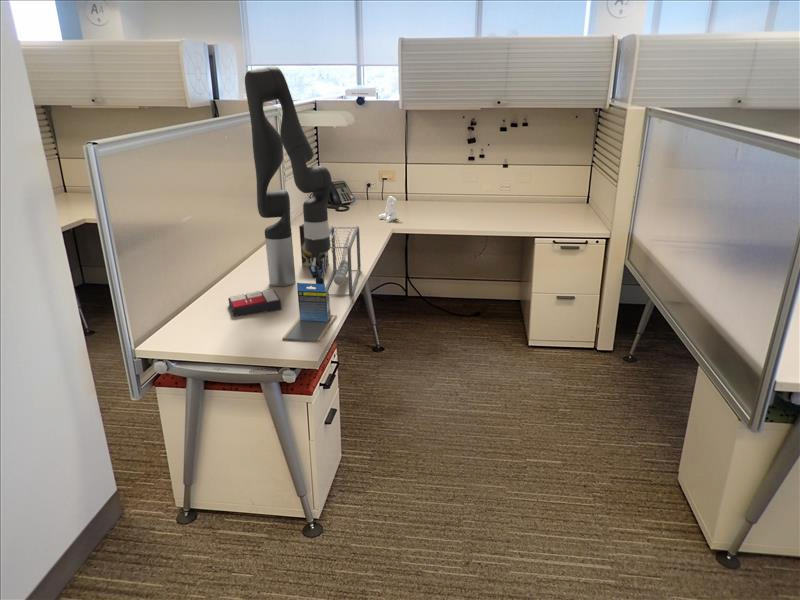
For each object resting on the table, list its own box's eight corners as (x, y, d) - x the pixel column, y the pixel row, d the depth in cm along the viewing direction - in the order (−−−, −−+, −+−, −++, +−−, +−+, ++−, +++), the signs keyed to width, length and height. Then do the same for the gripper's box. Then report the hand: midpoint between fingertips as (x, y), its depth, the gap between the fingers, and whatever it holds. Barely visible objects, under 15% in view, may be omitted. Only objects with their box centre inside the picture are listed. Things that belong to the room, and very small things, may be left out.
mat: (302, 315, 179) (302, 313, 179) (336, 317, 178) (336, 315, 178) (282, 340, 163) (282, 337, 163) (319, 342, 161) (319, 340, 161)
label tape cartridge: (331, 317, 176) (329, 279, 172) (327, 322, 173) (325, 284, 168) (303, 316, 177) (300, 278, 173) (299, 321, 174) (296, 282, 169)
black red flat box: (227, 295, 187) (273, 286, 192) (229, 307, 188) (275, 298, 193) (232, 307, 177) (280, 297, 182) (234, 320, 179) (282, 310, 184)
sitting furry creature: (377, 218, 295) (376, 195, 291) (391, 216, 300) (390, 193, 296) (388, 222, 288) (387, 198, 284) (401, 219, 293) (401, 196, 288)
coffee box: (301, 266, 225) (298, 226, 219) (309, 261, 230) (306, 222, 224) (322, 268, 222) (319, 227, 216) (329, 263, 227) (327, 223, 221)
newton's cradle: (333, 270, 220) (331, 224, 214) (360, 270, 220) (359, 224, 213) (321, 298, 192) (318, 247, 186) (352, 299, 192) (350, 247, 186)
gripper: (311, 228, 178) (314, 281, 185) (297, 240, 166) (302, 296, 172) (334, 229, 177) (337, 282, 184) (322, 241, 165) (326, 297, 171)
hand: (320, 289), depth 178 cm, fingers closed
